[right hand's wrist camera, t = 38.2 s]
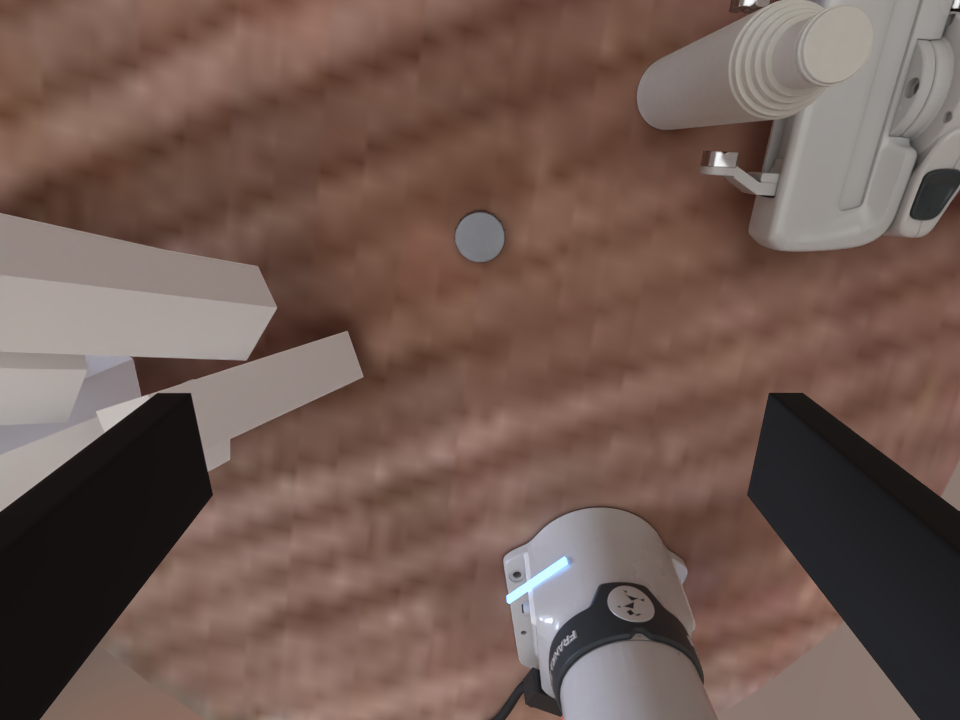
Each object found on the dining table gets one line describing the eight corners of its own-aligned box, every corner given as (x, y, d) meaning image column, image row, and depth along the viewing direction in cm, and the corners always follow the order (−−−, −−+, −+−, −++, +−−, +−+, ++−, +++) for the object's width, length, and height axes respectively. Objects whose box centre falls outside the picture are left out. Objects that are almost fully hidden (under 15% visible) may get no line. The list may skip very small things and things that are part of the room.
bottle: (627, 121, 41) (753, 97, 22) (649, 47, 39) (808, -47, 20) (689, 137, 41) (866, 127, 22) (714, 65, 39) (929, -12, 21)
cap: (507, 212, 43) (508, 214, 42) (501, 262, 45) (501, 266, 43) (458, 206, 43) (457, 208, 42) (453, 256, 45) (452, 260, 43)
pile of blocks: (314, 119, 45) (-638, -334, 14) (416, 462, 44) (-366, 857, 12) (78, 265, 60) (-658, 214, 28) (151, 528, 58) (-532, 792, 26)
